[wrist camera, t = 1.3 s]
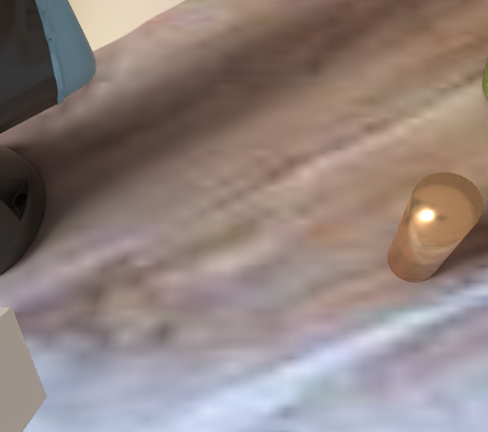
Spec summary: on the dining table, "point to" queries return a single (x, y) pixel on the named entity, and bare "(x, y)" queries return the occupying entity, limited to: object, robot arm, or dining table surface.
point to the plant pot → (485, 81)
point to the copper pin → (433, 225)
